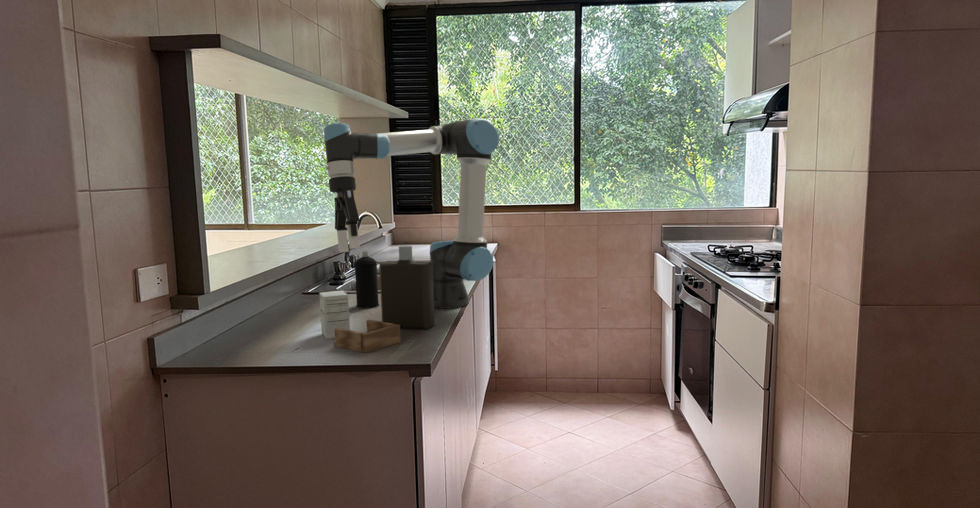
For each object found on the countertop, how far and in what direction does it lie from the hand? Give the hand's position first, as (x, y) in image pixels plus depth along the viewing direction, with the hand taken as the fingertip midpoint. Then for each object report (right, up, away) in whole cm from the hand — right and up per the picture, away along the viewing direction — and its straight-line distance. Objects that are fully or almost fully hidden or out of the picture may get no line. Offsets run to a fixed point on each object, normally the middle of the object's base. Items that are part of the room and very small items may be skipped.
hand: (349, 250), depth 188 cm
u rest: (+6, -26, -6) cm, 28 cm away
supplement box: (-5, -25, +6) cm, 27 cm away
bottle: (+15, -24, +15) cm, 32 cm away
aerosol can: (-3, -20, +47) cm, 51 cm away
